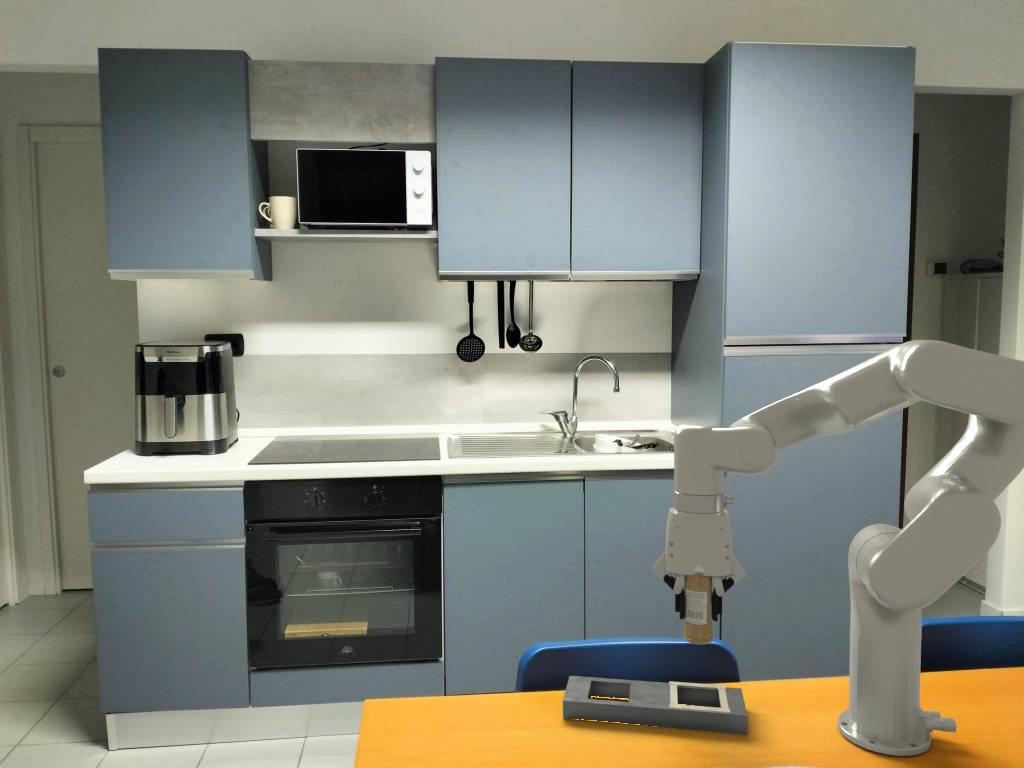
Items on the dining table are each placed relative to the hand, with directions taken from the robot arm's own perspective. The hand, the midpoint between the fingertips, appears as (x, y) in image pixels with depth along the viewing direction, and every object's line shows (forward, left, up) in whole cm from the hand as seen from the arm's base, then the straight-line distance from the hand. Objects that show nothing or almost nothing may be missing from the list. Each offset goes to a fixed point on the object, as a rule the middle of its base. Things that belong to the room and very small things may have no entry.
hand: (698, 616), depth 119 cm
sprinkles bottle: (0, 0, -4) cm, 4 cm away
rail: (+7, 0, -16) cm, 18 cm away
